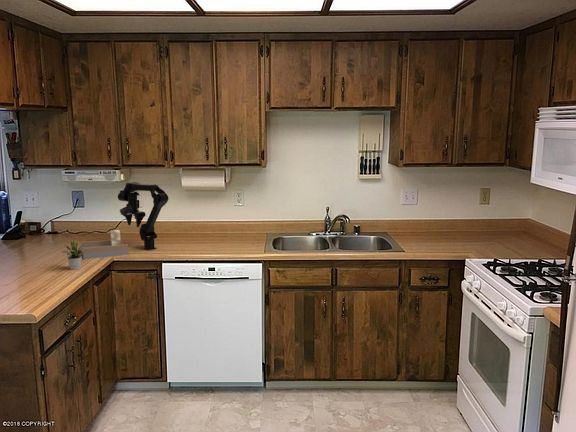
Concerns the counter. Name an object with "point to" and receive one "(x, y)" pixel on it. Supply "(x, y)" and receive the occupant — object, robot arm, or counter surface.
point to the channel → (103, 249)
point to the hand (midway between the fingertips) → (133, 226)
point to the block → (115, 237)
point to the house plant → (74, 256)
